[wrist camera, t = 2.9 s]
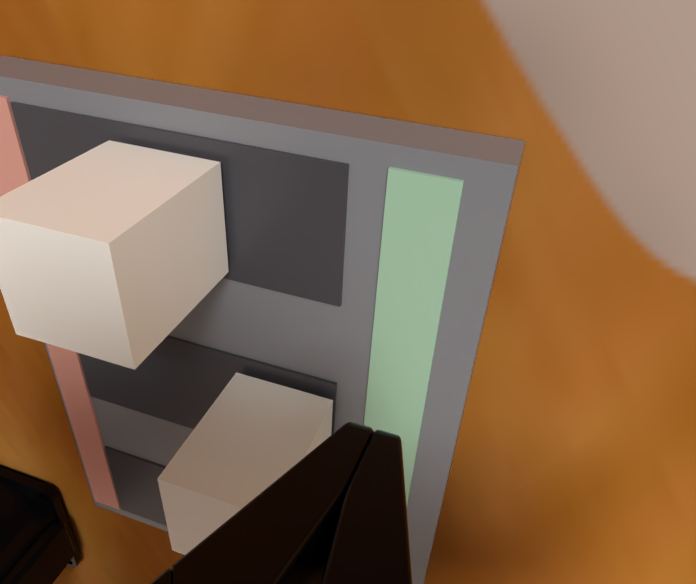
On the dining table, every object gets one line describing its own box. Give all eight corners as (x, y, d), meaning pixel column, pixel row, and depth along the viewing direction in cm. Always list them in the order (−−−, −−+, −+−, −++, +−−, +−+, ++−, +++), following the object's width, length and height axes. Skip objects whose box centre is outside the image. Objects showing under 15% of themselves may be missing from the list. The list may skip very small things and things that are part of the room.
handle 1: (129, 247, 16) (15, 334, 13) (108, 140, 14) (-27, 210, 11) (228, 271, 15) (134, 369, 12) (220, 162, 14) (108, 243, 11)
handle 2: (241, 442, 19) (172, 550, 16) (236, 372, 17) (157, 478, 14) (329, 469, 18) (274, 588, 15) (332, 400, 17) (272, 518, 14)
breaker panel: (117, 477, 27) (93, 507, 25) (4, 55, 16) (-45, 69, 15) (423, 585, 23) (413, 625, 22) (525, 141, 13) (517, 167, 12)
